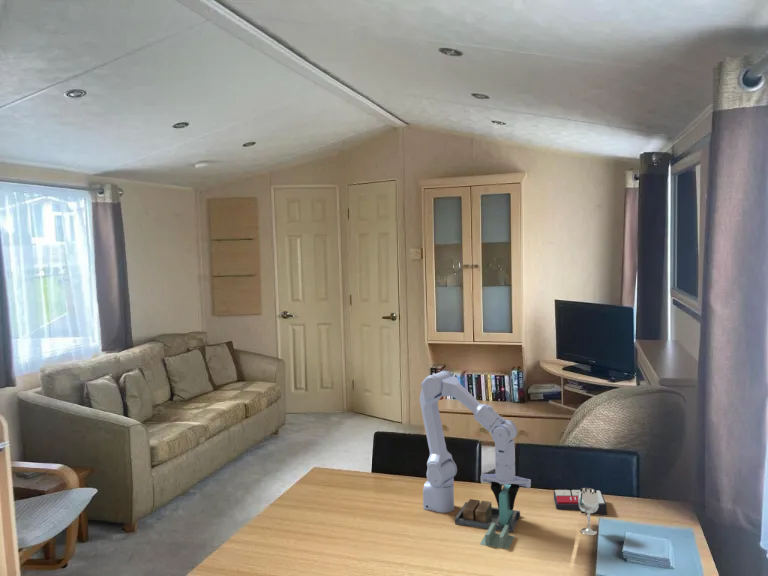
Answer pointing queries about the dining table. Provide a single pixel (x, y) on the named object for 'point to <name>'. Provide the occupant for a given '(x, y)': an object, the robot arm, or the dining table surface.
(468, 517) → the offcut
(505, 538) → the stand
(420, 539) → the dining table surface
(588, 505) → the wineglass
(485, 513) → the offcut
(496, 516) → the rack
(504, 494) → the teal flat block
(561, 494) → the black red box
